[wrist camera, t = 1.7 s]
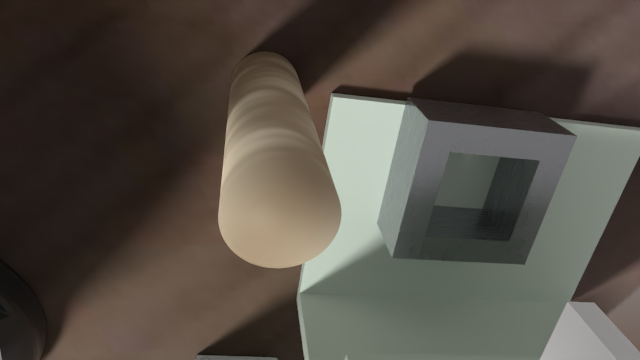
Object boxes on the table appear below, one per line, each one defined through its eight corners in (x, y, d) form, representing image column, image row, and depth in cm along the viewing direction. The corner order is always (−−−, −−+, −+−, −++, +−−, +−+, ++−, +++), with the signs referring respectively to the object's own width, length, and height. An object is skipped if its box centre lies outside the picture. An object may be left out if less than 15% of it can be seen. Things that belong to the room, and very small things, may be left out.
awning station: (296, 299, 37) (321, 486, 25) (331, 92, 30) (390, 211, 18) (558, 307, 41) (691, 471, 29) (642, 127, 34) (866, 243, 22)
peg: (228, 113, 30) (214, 265, 17) (233, 47, 28) (222, 157, 15) (294, 120, 31) (330, 270, 17) (303, 55, 29) (351, 168, 16)
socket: (376, 223, 34) (392, 258, 30) (407, 97, 30) (428, 120, 26) (497, 230, 36) (524, 264, 32) (540, 112, 32) (577, 136, 28)
